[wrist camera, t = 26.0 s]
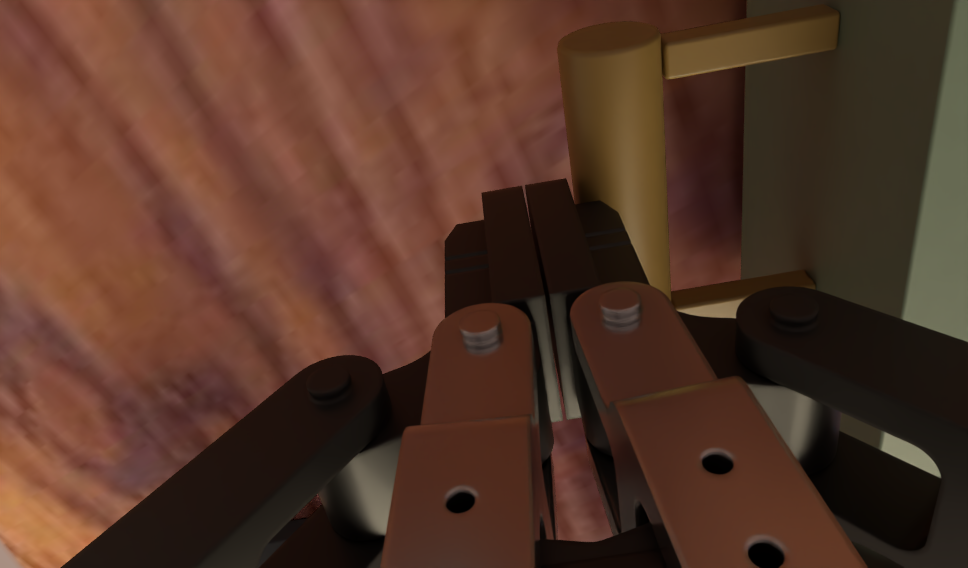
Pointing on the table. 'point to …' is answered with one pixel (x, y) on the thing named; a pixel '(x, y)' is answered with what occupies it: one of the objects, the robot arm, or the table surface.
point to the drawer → (799, 154)
